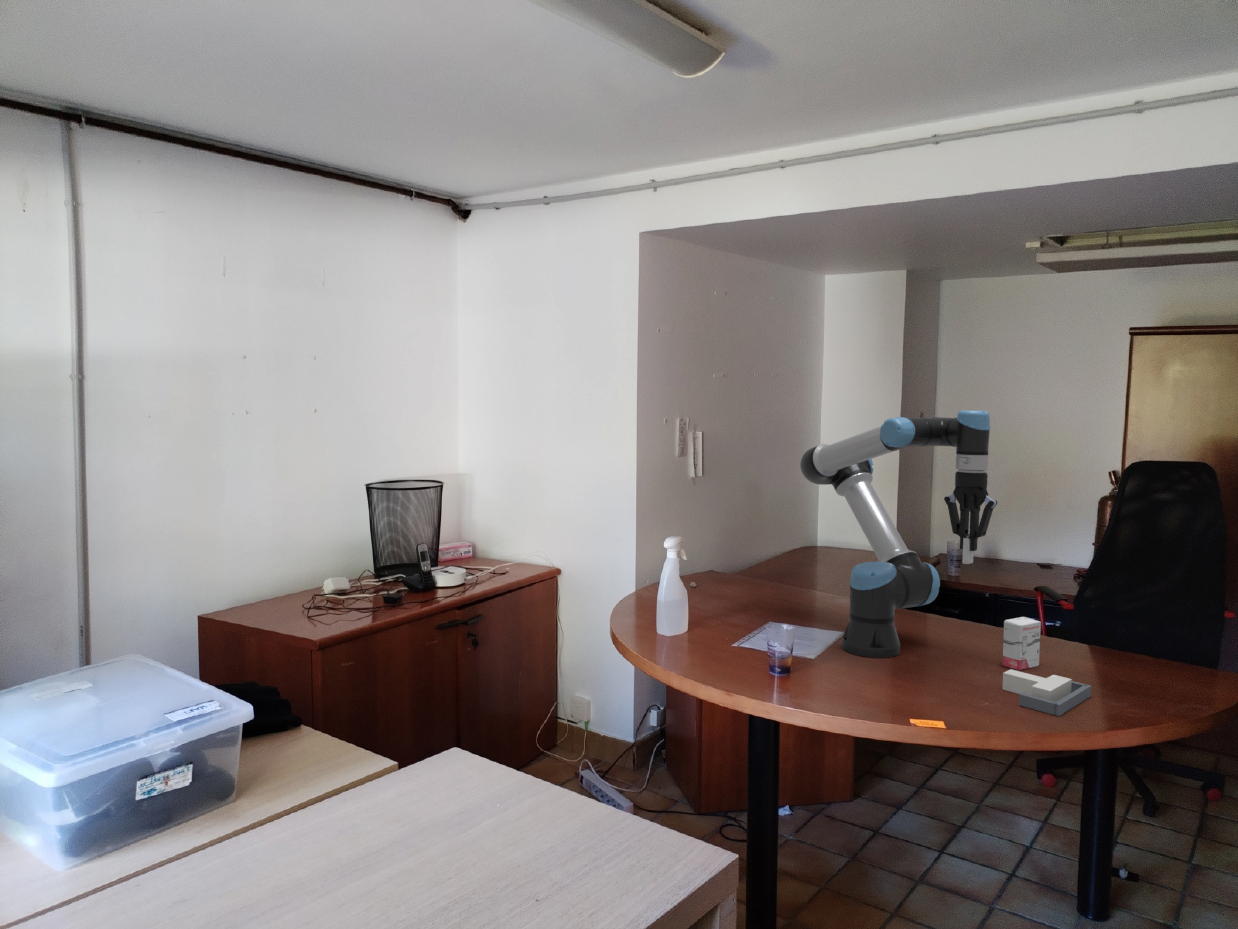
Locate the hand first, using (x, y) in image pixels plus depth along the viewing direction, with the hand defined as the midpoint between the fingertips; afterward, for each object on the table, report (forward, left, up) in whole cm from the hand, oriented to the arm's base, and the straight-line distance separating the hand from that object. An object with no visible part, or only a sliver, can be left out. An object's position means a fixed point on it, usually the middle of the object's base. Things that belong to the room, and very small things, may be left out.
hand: (967, 563), depth 201 cm
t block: (+21, -9, -27) cm, 35 cm away
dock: (+26, -9, -26) cm, 38 cm away
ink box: (+10, +10, -27) cm, 30 cm away
